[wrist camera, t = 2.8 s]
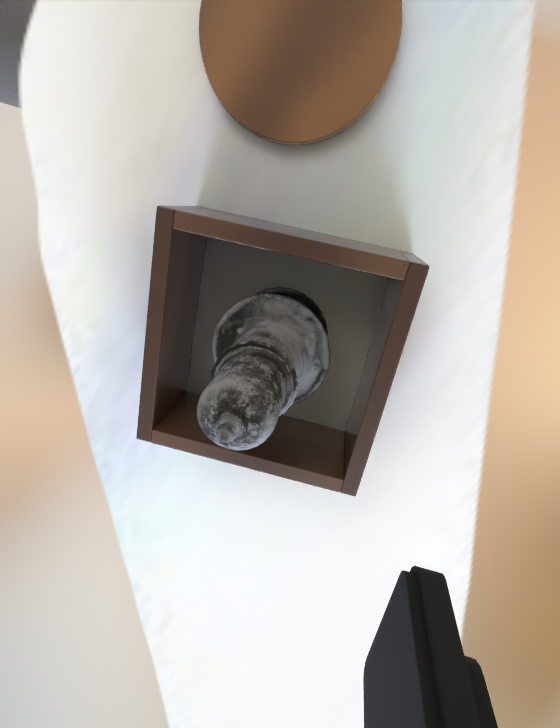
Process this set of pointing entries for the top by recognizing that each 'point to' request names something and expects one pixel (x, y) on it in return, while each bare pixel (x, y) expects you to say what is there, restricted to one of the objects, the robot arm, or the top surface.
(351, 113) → the coaster
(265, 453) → the crate
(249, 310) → the stone chess piece
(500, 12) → the top surface
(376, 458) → the top surface
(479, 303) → the top surface
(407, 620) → the robot arm
